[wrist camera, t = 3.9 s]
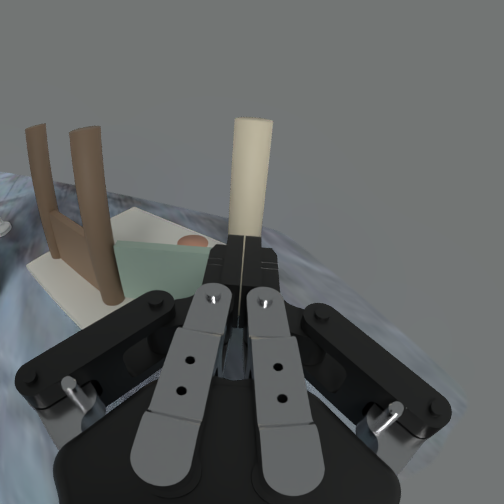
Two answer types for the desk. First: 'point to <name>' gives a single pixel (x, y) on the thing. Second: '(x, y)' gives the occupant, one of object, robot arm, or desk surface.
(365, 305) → the desk surface
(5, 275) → the desk surface
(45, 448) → the desk surface
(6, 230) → the chess piece
